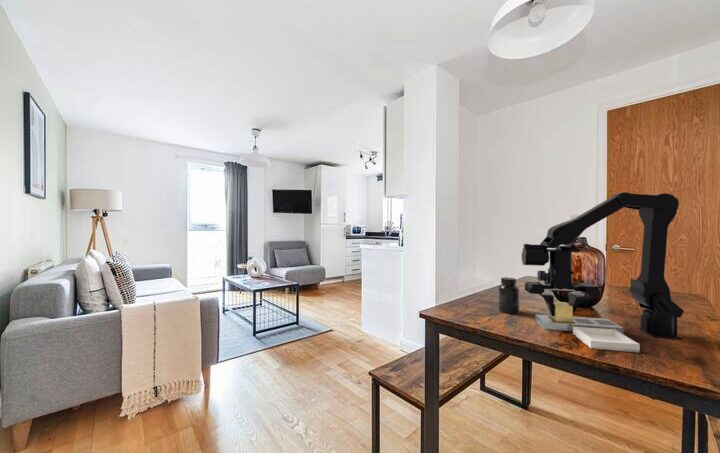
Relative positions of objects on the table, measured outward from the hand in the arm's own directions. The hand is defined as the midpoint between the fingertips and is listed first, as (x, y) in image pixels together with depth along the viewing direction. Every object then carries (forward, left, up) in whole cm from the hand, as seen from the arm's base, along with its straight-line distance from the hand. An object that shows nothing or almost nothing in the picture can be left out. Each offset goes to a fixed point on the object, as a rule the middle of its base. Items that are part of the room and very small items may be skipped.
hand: (561, 316), depth 89 cm
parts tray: (-6, +11, -3) cm, 13 cm away
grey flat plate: (-4, 0, -3) cm, 5 cm away
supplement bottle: (+12, -13, -3) cm, 18 cm away
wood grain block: (0, 0, -3) cm, 3 cm away
